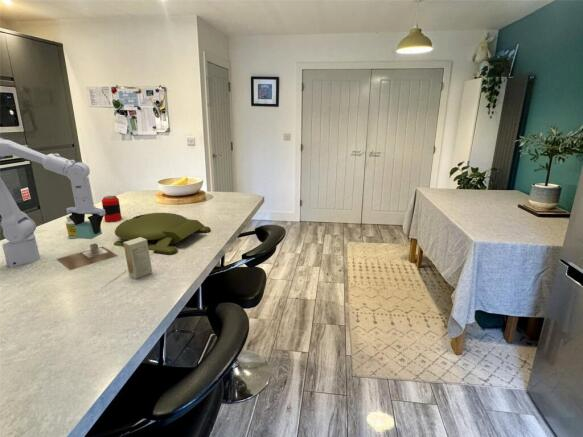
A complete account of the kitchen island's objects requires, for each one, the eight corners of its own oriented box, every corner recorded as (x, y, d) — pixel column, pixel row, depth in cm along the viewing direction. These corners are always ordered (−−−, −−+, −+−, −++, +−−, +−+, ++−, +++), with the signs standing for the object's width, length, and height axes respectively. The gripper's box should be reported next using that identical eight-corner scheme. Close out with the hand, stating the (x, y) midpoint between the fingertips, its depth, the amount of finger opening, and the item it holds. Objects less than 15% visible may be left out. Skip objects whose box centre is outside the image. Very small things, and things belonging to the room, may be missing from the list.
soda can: (121, 221, 169) (117, 198, 165) (104, 223, 166) (100, 199, 163) (122, 217, 176) (118, 194, 172) (106, 218, 173) (102, 196, 169)
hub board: (70, 272, 114) (68, 261, 113) (57, 261, 123) (54, 250, 122) (118, 258, 126) (116, 247, 125) (103, 248, 135) (101, 238, 133)
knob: (90, 239, 122) (88, 226, 120) (77, 238, 123) (74, 225, 121) (102, 233, 127) (99, 221, 126) (89, 232, 128) (86, 220, 127)
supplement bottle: (82, 233, 152) (78, 213, 149) (83, 237, 147) (79, 216, 145) (68, 235, 149) (64, 215, 146) (68, 239, 145) (64, 218, 142)
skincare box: (146, 269, 117) (141, 236, 114) (152, 272, 115) (148, 239, 111) (127, 275, 112) (122, 241, 109) (134, 279, 110) (128, 244, 106)
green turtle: (213, 231, 157) (211, 210, 154) (172, 256, 129) (170, 232, 126) (149, 224, 166) (147, 204, 163) (99, 246, 138) (95, 224, 135)
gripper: (108, 195, 123) (114, 230, 127) (74, 193, 126) (81, 228, 130) (94, 200, 117) (101, 236, 121) (58, 198, 119) (66, 234, 123)
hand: (89, 232), depth 125 cm, fingers closed on knob, 6 cm apart
